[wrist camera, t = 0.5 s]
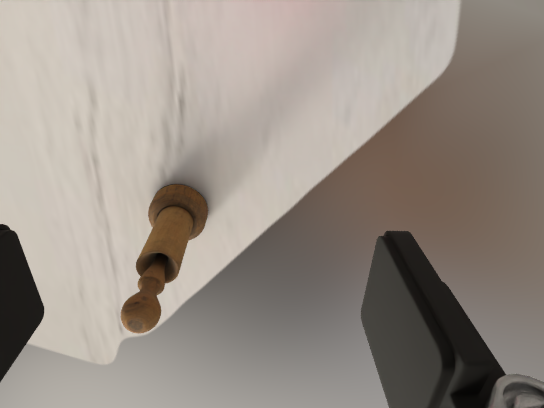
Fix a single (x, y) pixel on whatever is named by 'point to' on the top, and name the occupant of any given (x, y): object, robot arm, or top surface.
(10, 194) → the top surface
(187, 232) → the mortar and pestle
